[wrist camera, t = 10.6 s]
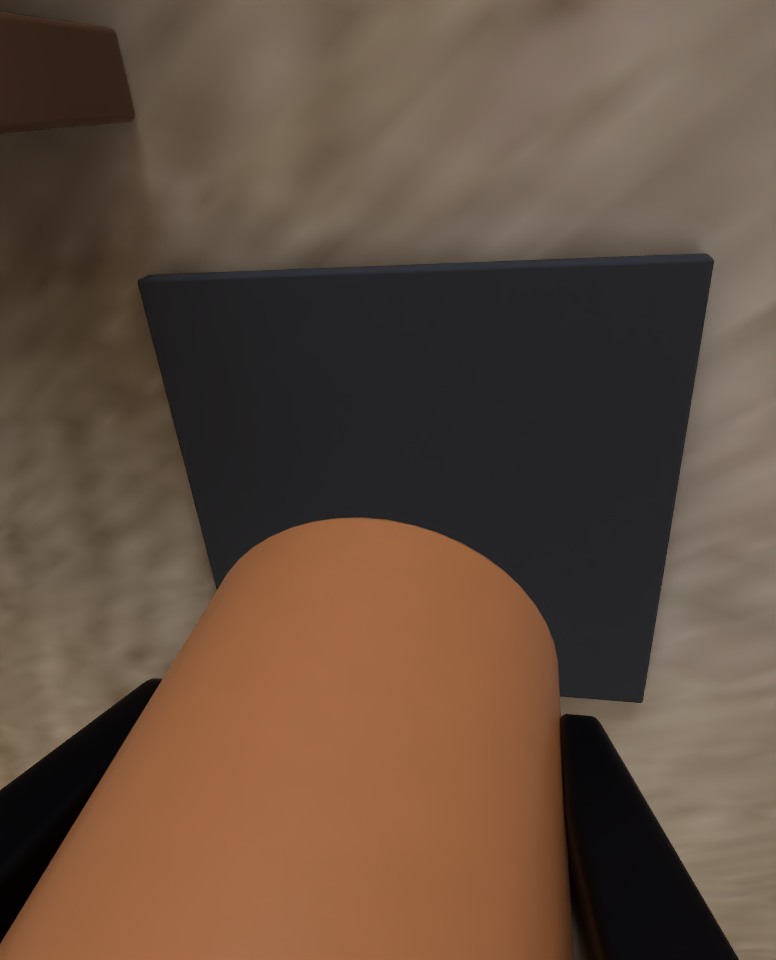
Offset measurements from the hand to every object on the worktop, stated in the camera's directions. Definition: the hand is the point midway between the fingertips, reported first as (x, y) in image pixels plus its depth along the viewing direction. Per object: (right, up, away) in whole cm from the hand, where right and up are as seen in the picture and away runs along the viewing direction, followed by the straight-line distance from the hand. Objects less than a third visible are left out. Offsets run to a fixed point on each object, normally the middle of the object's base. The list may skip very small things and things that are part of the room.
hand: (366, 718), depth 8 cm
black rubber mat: (+1, +2, +4) cm, 5 cm away
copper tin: (0, 0, +1) cm, 1 cm away
